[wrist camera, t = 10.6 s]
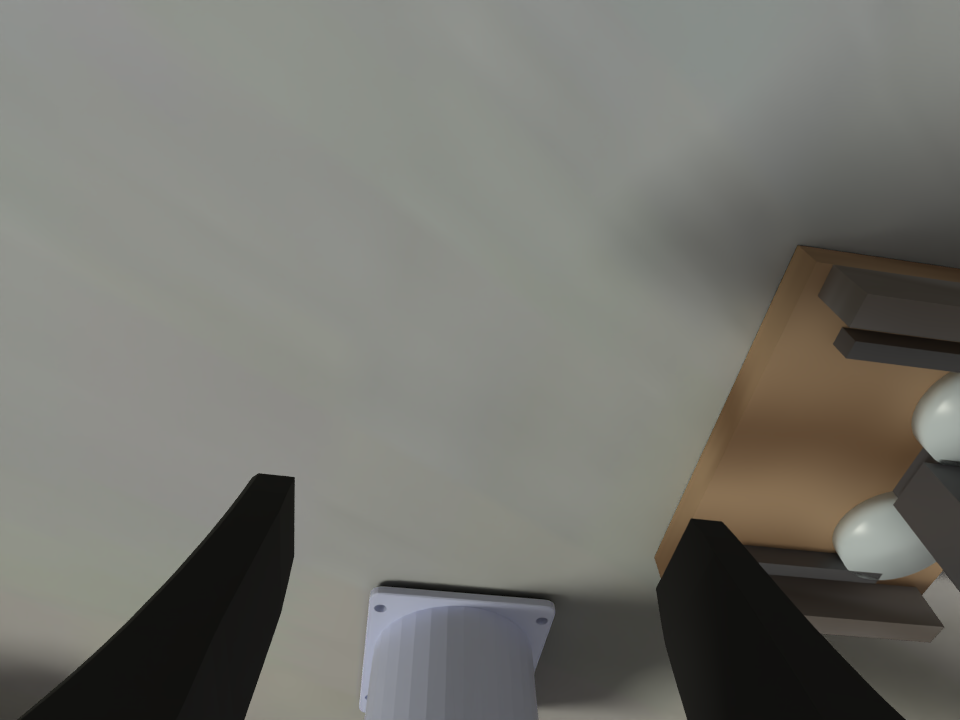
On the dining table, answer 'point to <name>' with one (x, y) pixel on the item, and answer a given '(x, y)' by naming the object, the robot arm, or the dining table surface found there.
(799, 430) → the stand
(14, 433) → the dining table surface
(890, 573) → the spectacles
